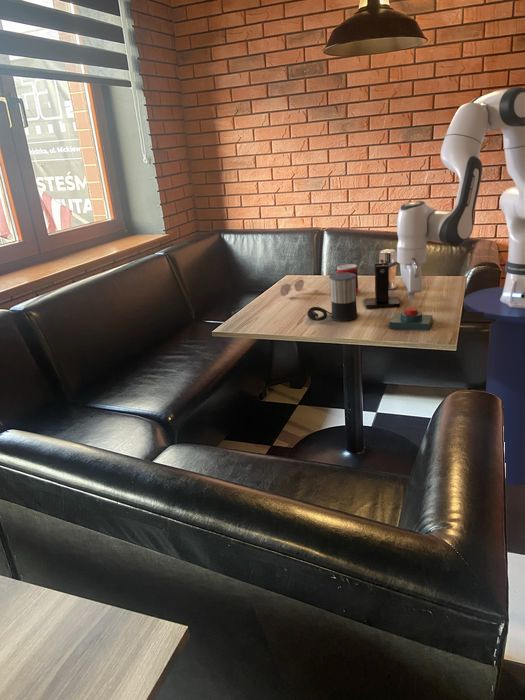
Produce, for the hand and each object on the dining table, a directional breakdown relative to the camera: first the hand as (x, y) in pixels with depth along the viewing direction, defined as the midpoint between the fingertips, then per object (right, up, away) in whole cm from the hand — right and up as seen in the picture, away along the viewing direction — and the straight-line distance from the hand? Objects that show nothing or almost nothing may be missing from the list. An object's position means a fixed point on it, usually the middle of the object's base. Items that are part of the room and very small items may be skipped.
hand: (410, 299), depth 170 cm
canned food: (-12, +7, +46) cm, 48 cm away
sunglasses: (-32, +6, +50) cm, 60 cm away
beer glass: (+4, +9, +48) cm, 49 cm away
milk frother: (-22, -5, +17) cm, 29 cm away
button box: (+1, -8, +3) cm, 9 cm away
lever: (+2, +15, +22) cm, 26 cm away
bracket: (-3, +1, +28) cm, 28 cm away
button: (+1, -5, +2) cm, 5 cm away
